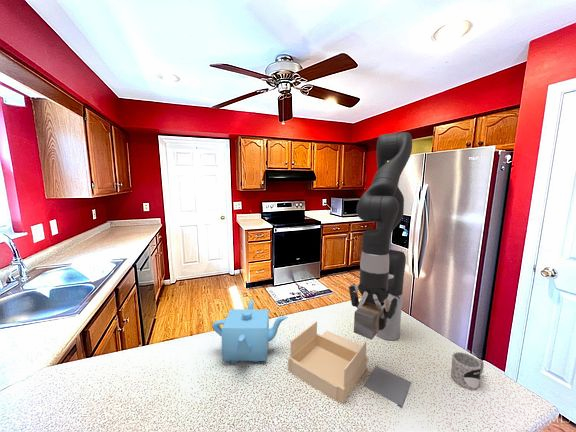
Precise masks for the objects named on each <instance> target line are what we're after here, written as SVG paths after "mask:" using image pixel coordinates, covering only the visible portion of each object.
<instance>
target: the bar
mask: <svg viewBox="0 0 576 432" xmlns="http://www.w3.org/2000/svg"><path fill="white" fill-rule="evenodd" d="M385 304H386V310H387V311H388V302H387V301H385ZM379 313H380V311H378V310H377V307H376V305H374V304H372V303H368V302H367V303H365V304H364V305H362V306H361V307H359V308H358V309H357V308H356V310H355V311H354V315H353V316H354V318H353V319H354V320H353V333H354V334H355V335H359V336H361V337H364V338H366V339H369V341H370V340H371V341H373V339H374V338H375V336H377V335H376V334H377V333H378V332H379V318H380V314H379ZM386 322H387V320H386Z"/></svg>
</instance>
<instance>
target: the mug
mask: <svg viewBox="0 0 576 432" xmlns="http://www.w3.org/2000/svg"><path fill="white" fill-rule="evenodd" d="M484 363H485V362H484V361H483V360H482V359H481V358H476V357H474V356H472V355H471V354H469V353H465V352H462V351H461V352H460V351H459V352H458V351H457V352H456V351H455V352H453V354H452V358H451V367H450V368H451V369H450V370H451V371H450V378H451V380H452V381H453V382H454V383H455V384H456V385H458V386H459V387H461V388H463V389H466V390H470V391H476V390H478V389H479V386H480V378H481V375H483V372H484Z"/></svg>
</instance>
